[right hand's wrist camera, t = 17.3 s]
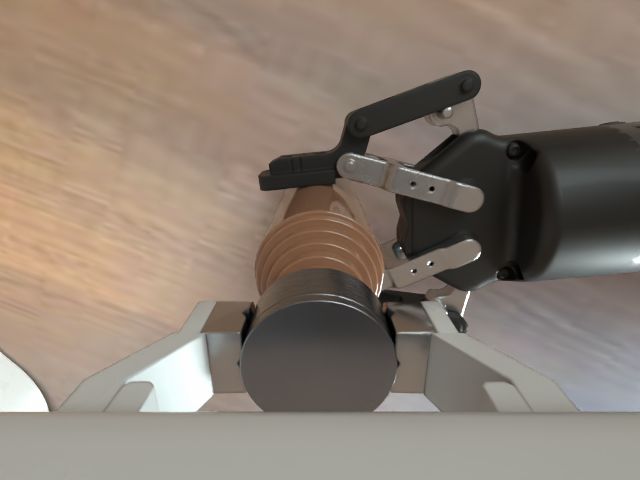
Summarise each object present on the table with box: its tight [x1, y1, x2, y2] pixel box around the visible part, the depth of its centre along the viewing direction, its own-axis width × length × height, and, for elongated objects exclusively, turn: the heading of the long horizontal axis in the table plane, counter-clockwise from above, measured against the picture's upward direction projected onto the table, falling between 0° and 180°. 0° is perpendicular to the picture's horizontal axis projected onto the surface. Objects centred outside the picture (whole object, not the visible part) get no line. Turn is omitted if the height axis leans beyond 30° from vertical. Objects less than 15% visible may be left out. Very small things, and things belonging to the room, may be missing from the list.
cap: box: [240, 268, 398, 412], centre depth 9 cm, size 4×4×2 cm
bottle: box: [255, 178, 384, 298], centre depth 17 cm, size 5×5×17 cm
